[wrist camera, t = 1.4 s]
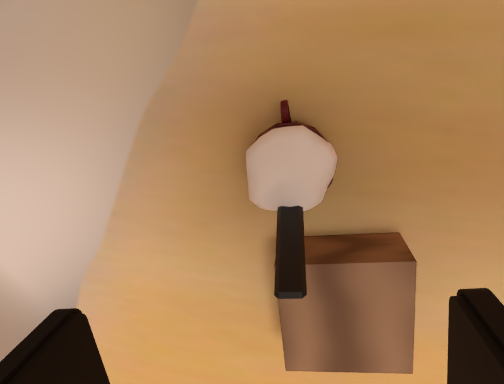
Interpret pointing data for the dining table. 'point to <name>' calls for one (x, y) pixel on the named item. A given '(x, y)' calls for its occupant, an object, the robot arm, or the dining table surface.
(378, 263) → the walnut block
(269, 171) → the cocoa
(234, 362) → the dining table surface
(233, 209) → the dining table surface
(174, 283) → the dining table surface
